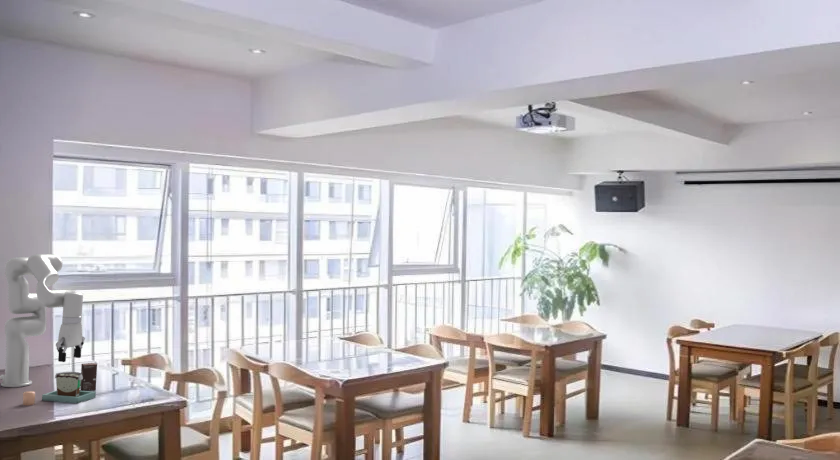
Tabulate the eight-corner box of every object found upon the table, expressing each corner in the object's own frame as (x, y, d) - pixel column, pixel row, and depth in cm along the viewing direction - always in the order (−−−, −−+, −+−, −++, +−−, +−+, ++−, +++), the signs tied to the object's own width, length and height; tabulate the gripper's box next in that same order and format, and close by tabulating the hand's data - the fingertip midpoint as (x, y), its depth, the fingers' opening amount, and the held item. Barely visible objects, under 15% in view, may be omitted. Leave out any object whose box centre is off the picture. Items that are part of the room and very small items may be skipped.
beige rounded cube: (20, 405, 285) (20, 393, 285) (28, 402, 290) (28, 390, 290) (29, 405, 285) (29, 393, 285) (37, 403, 289) (37, 391, 289)
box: (82, 391, 312) (83, 365, 312) (79, 389, 316) (81, 363, 316) (96, 390, 316) (97, 364, 316) (94, 388, 319) (95, 362, 320)
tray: (41, 400, 294) (42, 394, 294) (60, 394, 306) (60, 389, 306) (78, 403, 291) (78, 397, 291) (95, 397, 302) (95, 391, 302)
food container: (88, 395, 302) (89, 372, 302) (78, 398, 296) (79, 375, 296) (64, 393, 304) (65, 370, 305) (54, 396, 298) (55, 373, 299)
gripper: (77, 317, 308) (75, 355, 308) (50, 322, 291) (47, 362, 291) (92, 318, 307) (90, 356, 307) (65, 323, 290) (63, 364, 290)
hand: (69, 359), depth 299 cm, fingers open, 9 cm apart
